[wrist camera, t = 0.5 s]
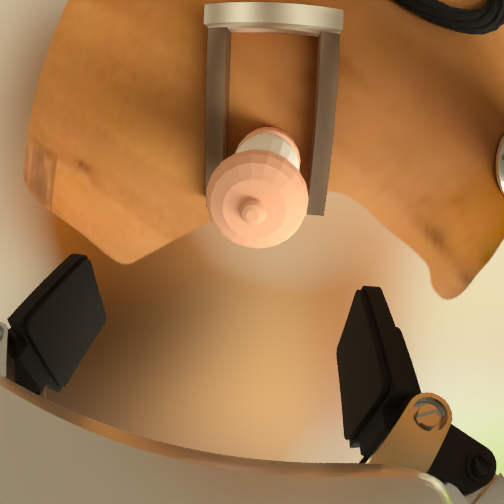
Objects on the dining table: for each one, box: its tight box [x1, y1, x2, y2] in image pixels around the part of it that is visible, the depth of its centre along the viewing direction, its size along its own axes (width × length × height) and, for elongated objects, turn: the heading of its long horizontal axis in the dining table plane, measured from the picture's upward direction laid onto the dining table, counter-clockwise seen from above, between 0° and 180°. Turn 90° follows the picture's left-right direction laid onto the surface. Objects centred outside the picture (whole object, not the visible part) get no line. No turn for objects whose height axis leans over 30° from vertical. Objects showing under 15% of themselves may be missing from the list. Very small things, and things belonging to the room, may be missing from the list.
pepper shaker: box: [206, 127, 309, 248], centre depth 26 cm, size 7×7×19 cm
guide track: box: [204, 2, 343, 216], centre depth 29 cm, size 14×24×5 cm, turn 178°
